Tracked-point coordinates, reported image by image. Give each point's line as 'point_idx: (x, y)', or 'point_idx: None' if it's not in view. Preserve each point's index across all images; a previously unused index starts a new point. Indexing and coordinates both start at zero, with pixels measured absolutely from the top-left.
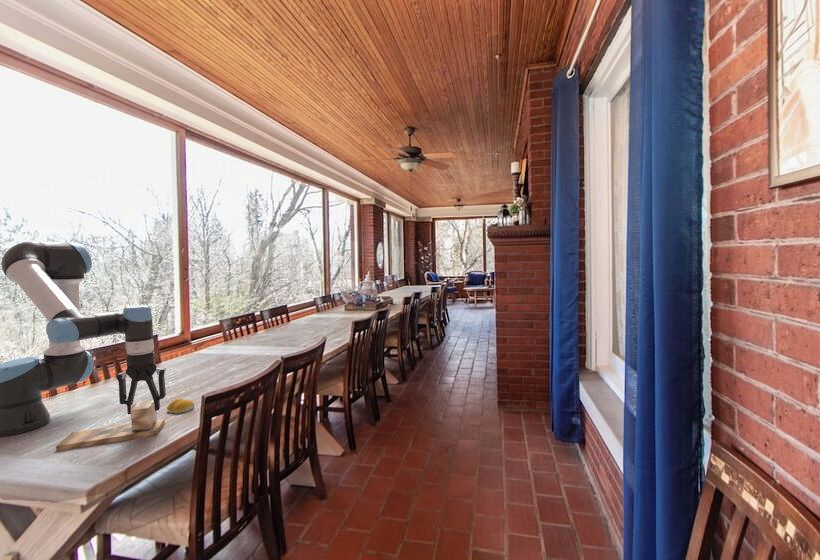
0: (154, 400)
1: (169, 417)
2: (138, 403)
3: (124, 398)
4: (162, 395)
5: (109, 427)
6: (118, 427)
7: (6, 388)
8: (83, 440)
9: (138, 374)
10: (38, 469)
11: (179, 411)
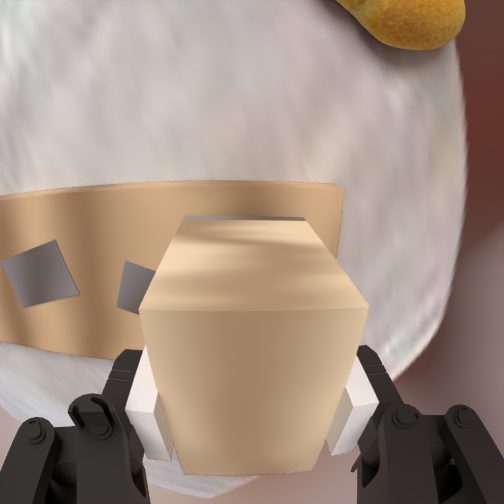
0: (363, 461)
1: (346, 86)
2: (169, 370)
3: (39, 460)
4: (437, 471)
5: (26, 209)
6: (72, 232)
7: None
8: (17, 332)
9: None
10: (35, 413)
11: (400, 47)
